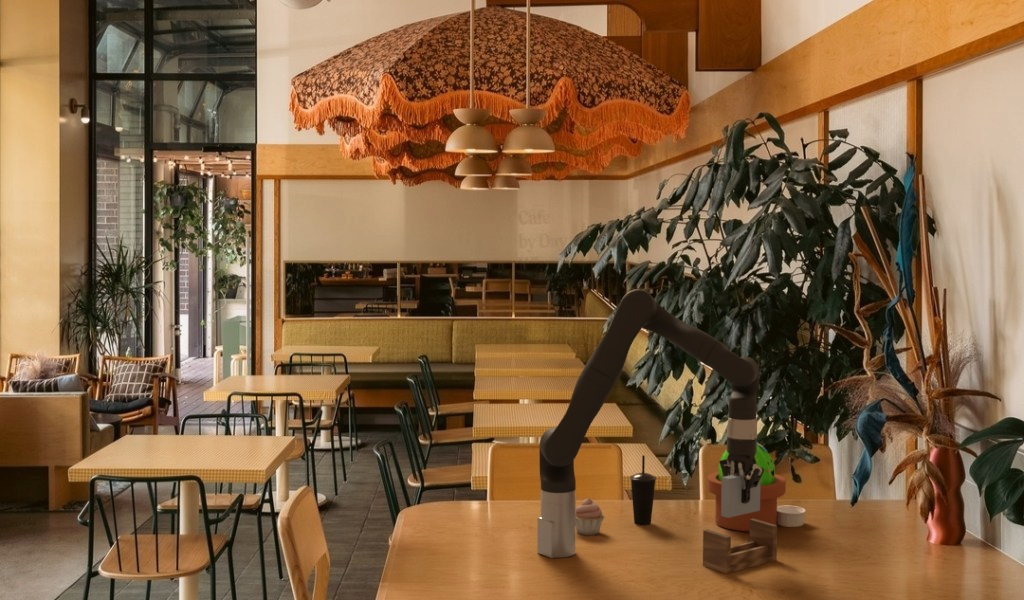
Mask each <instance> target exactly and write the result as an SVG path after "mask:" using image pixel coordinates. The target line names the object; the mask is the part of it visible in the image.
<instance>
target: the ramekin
mask: <svg viewBox="0 0 1024 600" xmlns="http://www.w3.org/2000/svg"><path fill="white" fill-rule="evenodd" d="M805 514H806V509H805V508H803V507H801V506H797V505H788V504H787V505H777V522H776V525H779V526H782V527H786V528H787V527H788V528H795V527H796V528H797V527H801V526H803V525H804V523H805Z"/></svg>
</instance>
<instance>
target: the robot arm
mask: <svg viewBox="0 0 1024 600" xmlns="http://www.w3.org/2000/svg"><path fill="white" fill-rule="evenodd" d="M642 329H644V330H647V331H649V332H651V333H654V334H655V335H658V336H660V337H661V338H664V339H665V340H667V341H669V342H671V343H672V344H674V345H675V346H676V347H677V348H679V349H681V350H682V351H683V352H685V353H686V354H688V355H689V356H691V357H693V358H694V359H695V360H697V361H699V362H701V363H703V364H704V365H705V366H707V367H709V368H711V369H712V370H713V371H715V372H716V373H717V374H718V375H720V377H722V378H723V379H724V380H726V381H727V382H729V383H731V394H730V396H729V400H728V413H727V415H728V418H727V419H728V420H727V427H726V428H727V429H726V449H727V452H728V453H729V455H728V457H727V459H725V460H721V459H720V460H719V461H718V462H719V463H720V466H721V469H722V472H723V475H724V477H725V476H730V475H735V474H740V480H741V481H742V488H743V489H742V495H741V502H742V503H744V504H745V503H748V502H749V501H750V489H751V488H753V487H757V485H758V483H759V481H760V479H761V477H762V474H763V472H764V468H760V467H759V466H757V465H756V460H755V455H756V453H757V442H758V422H757V411H758V410H757V395H758V390H759V389H758V388H759V380H760V369H759V365H758V362H756V361H755V359H754V358H753V357H749V356H739V355H737V354H736V353H734V352H732V351H731V350H729V349H728V347H727V346H726V345H725V344H724V343H723V342H722V341H719V340H718V339H716V338H715V337H713V336H712V335H710V334H708V333H706V332H705V331H703V330H701V329H699V328H698V327H695V326H693V325H691V324H688V323H687V322H685V321H684V320H681V319H679V318H677V317H676V316H675V315H673V314H671V313H670V312H668V310H667V309H665V308H664V307H662V305H661V304H659V303H658V302H657V300H656V299H655V298H654V297H653V296H652V295H651V294H650V293H649V291H646V290H644V289H639V288H637V289H636V288H635V289H632V290H630V291H628V292H627V293H625V294H624V296H623V297H622V299H621V300H620V301H619V303H618V306H617V310H616V312H615V314H614V316H613V318H612V320H611V323H610V325H609V327H608V329H607V331H606V333H605V334H604V335H603V337H602V339H601V340H600V341H599V343H598V344H597V346H596V348H595V349H594V351H593V353H592V354H591V355H590V358H589V359H588V360H587V362H586V364H585V365H584V367H583V369H582V370H581V372H580V374H579V376H578V378H577V381H576V382H575V385H574V388H573V391H572V395H571V398H570V400H569V404H568V407H567V409H566V411H565V413H564V415H563V417H562V419H561V420H560V421H559V423H558V425H557V426H553V427H551V428H548V429H546V430H545V431H544V432H543V434H542V435H541V437H540V440H539V451H538V453H539V479H540V516H539V517H538V518H537V548H536V549H537V554H540V555H543V556H545V557H548V558H549V559H555V558H568V557H572V556H573V555H575V554H576V526H575V513H576V507H577V506H576V501H577V500H576V499H577V497H576V496H577V495H576V493H577V492H576V490H577V489H576V486H577V481H576V475H575V464H574V463H575V459H576V457H577V455H578V453H579V452H580V449H581V446H582V444H583V442H584V440H585V437H586V435H587V432H588V430H589V428H590V426H591V424H592V423H593V422H594V420H595V418H596V417H597V415H598V414H599V413H600V410H601V409H602V407H603V406H604V404H605V402H606V401H607V399H608V398H609V396H610V394H611V393H612V391H613V389H614V388H615V386H616V384H617V382H618V380H619V378H620V377H621V374H622V372H623V369H624V366H625V363H626V360H627V357H628V354H629V351H630V349H631V346H632V344H633V343H634V340H635V339H636V337H637V336H638V335H639V333H640V332H641V330H642ZM719 463H718V464H719ZM752 470H753V471H752ZM752 473H753V474H752ZM728 474H729V475H728ZM745 475H747V476H745ZM746 480H747V484H746Z"/></svg>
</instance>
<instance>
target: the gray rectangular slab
mask: <svg viewBox="0 0 1024 600" xmlns="http://www.w3.org/2000/svg"><path fill="white" fill-rule="evenodd" d="M752 474H753V473H752ZM745 476H747V475H745ZM746 484H747V480H746ZM760 484H761V479H760V481H759V483H758V485H757V487H753V488H751V489H750V501H749V502H748V503H745V504H744V503H742V502H741V495H742V489H743V488H742V481H741V480H740V474H735V475H730V476H725V477H722V489H721V516H724V517H727V518H730V517H734V516H738V515H743V514H747V513H751V512H756V511H760Z"/></svg>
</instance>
